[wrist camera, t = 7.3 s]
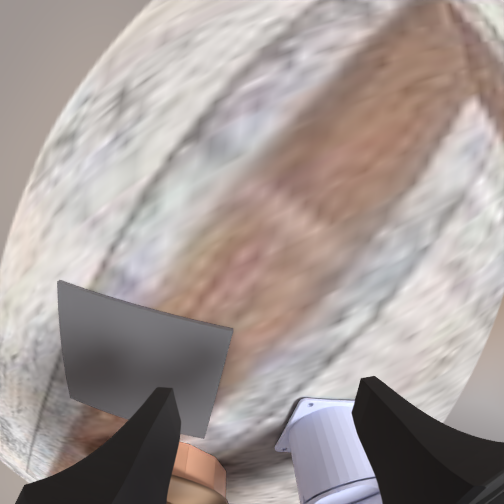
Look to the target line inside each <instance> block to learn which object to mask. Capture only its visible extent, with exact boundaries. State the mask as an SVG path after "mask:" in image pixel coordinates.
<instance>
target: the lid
mask: <svg viewBox="0 0 504 504" xmlns="http://www.w3.org/2000/svg"><path fill="white" fill-rule="evenodd" d="M166 504H229V503H228V501H227V500H226V498H225V497H224V496H222V495H221V494H220V493H218V492H217V491H215V490H213V489H211V488H209V487H207V486H204V485H202V484H200V483H197V482H194V481H192V480H188V479H185V478H182V477H179V476H175V475H172V476H171V480H170V484H169V489H168V494H167V503H166Z"/></svg>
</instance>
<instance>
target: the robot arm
mask: <svg viewBox="0 0 504 504" xmlns="http://www.w3.org/2000/svg"><path fill="white" fill-rule="evenodd" d="M309 403H311V404H309ZM180 431H181V419H180V415H179V411H178V407H177V403H176V399H175V395H174V391H173V388H166V387H157V388H156V389H155V390H154V391H153V392H152V394H151V395H150V396H149V397H148V398H147V400H146V401H145V402H144V403H143V404H142V406H141V407H140V408H139V409H138V410H137V411H136V413H135V414H134V415H133V416H132V417H131V418H130V419H129V420H128V421H127V422H126V423H125V425H124V426H123V427H121V428H120V429H119V430H118V431H117V432H116V433H115V434H114V435H113V436H112V437H111V438H110V439H109V440H108V441H107V442H105V443H104V444H103V445H102V446H101V447H99V448H98V449H97V450H95V451H94V452H93V453H91V454H90V455H88V456H87V457H85V458H84V459H83V460H81V461H79V462H78V463H76V464H75V465H73V466H71V467H69V468H67V469H65V470H63V471H61V472H59V473H57V474H55V475H53V476H50V477H48V478H45V479H42V480H39V481H36V482H33V483H30V484H26V485H24V487H23V489H22V491H21V493H20V495H19V497H18V499H17V501H16V503H15V504H166V503H167V494H168V489H169V484H170V480H171V476H172V471H173V467H174V463H175V459H176V455H177V451H178V446H179V440H180ZM275 451H278V452H291V454H292V460H293V465H294V471H295V477H296V482H297V488H298V493H299V499H300V504H504V443H503V442H495V441H491V440H486V439H482V438H478V437H475V436H472V435H469V434H466V433H464V432H461V431H458V430H456V429H454V428H451V427H449V426H447V425H445V424H443V423H441V422H439V421H437V420H436V419H434V418H432V417H431V416H429V415H427V414H426V413H424V412H423V411H421V410H419V409H418V408H417V407H415V406H414V405H412V404H411V403H409V402H408V401H407V400H405V399H404V398H403V397H401V396H400V395H399V394H397V393H396V392H395V391H394V390H392V389H391V388H390V387H388V386H387V385H386V384H385V383H383V382H382V381H381V380H379V379H378V378H377V377H375V376H372V377H366V378H361V380H360V384H359V388H358V391H357V395H356V398H355V401H350V400H326V399H311V398H303V399H301V400H300V401H299V403H298V405H297V407H296V408H295V410H294V412H293V414H292V416H291V418H290V420H289V422H288V424H287V426H286V427H285V429H284V431H283V433H282V435H281V436H280V438H279V440H278V442H277V444H276V445H275Z"/></svg>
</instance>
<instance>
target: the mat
mask: <svg viewBox="0 0 504 504" xmlns="http://www.w3.org/2000/svg"><path fill="white" fill-rule="evenodd" d="M57 288H58V311H59V325H60V336H61V345H62V353H63V360H64V366H65V373H66V378H67V384H68V389H69V394H70V398H72V399H75V400H77V401H79V402H82V403H84V404H87V405H89V406H92V407H94V408H97V409H99V410H102V411H105V412H107V413H110V414H113V415H116V416H119V417H122V418H125V419H128V420H129V419H130V418H131V417H132V416H133V415H134V414H135V413H136V411H137V410H138V409H139V408H140V407H141V406H142V404H143V403H144V402H145V401H146V400H147V398H148V397H149V396H150V395H151V394H152V392H153V391H154V390H155V389H156V388H157V387H166V388H173V391H174V395H175V399H176V403H177V407H178V411H179V415H180V419H181V431H180V434H183V435H188V436H193V437H198V438H203V439H204V438H205V434H206V431H207V427H208V423H209V420H210V416H211V412H212V408H213V405H214V401H215V397H216V393H217V390H218V386H219V382H220V378H221V375H222V371H223V367H224V364H225V360H226V356H227V352H228V349H229V345H230V341H231V337H232V334H233V328H229V327H224V326H220V325H215V324H211V323H206V322H202V321H198V320H193V319H189V318H185V317H181V316H177V315H173V314H169V313H166V312H162V311H158V310H154V309H151V308H147V307H143V306H140V305H136V304H133V303H129V302H126V301H123V300H119V299H116V298H113V297H109V296H106V295H103V294H100V293H97V292H94V291H91V290H87V289H84V288H81V287H79V286H76V285H73V284H70V283H67V282H64V281H61V280H59V281H58V282H57Z"/></svg>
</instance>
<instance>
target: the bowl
mask: <svg viewBox="0 0 504 504" xmlns="http://www.w3.org/2000/svg"><path fill="white" fill-rule="evenodd" d="M172 475H175V476H179V477H182V478H185V479H188V480H192V481H194V482H197V483H200V484H202V485H204V486H207V487H209V488H211V489H213V490H215V491H217V492H218V493H220V494H221V495H222V496H224V497H225V498H226V470H225V469H224V468H223V467H222V465H221V464H220V463H219V461H218V460H217V459H216V457H214V456H212V455H210V454H208V453H206V452H204V451H202V450H200V449H198V448H196V447H194V446H192V445H190V444H186V443H182V442H179V446H178V451H177V455H176V459H175V463H174V467H173V471H172Z"/></svg>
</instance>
